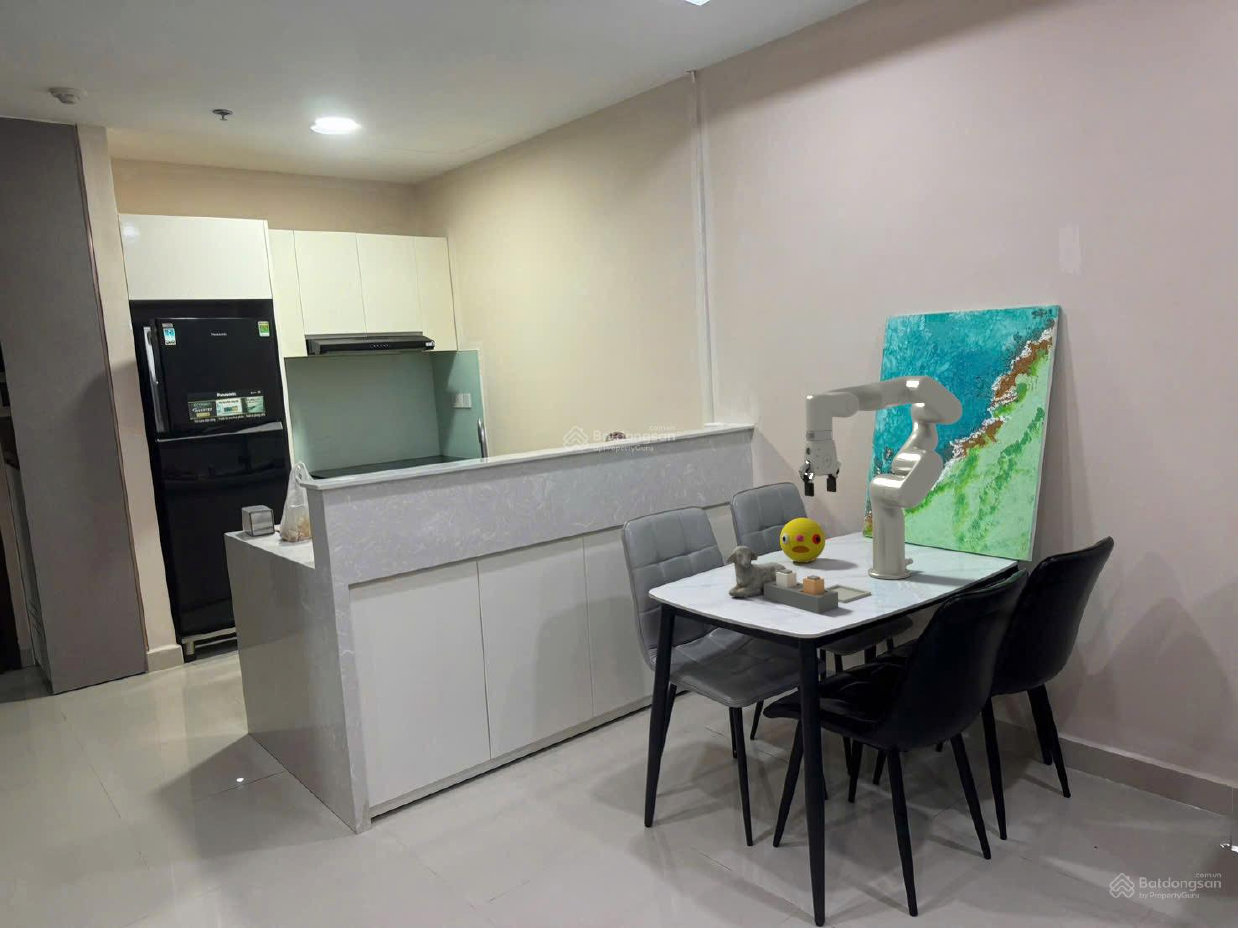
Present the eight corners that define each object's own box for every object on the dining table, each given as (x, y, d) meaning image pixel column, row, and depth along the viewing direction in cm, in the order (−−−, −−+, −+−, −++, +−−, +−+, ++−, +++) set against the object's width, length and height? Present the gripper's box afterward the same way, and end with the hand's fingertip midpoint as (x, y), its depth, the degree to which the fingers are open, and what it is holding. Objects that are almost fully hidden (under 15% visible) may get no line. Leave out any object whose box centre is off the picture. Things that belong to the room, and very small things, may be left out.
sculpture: (723, 596, 241) (721, 546, 239) (772, 582, 253) (770, 535, 252) (750, 604, 232) (748, 552, 230) (799, 589, 245) (798, 539, 243)
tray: (837, 588, 243) (837, 584, 243) (871, 596, 233) (871, 591, 233) (810, 596, 236) (810, 592, 236) (843, 605, 226) (843, 600, 226)
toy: (777, 567, 271) (775, 523, 269) (783, 556, 286) (782, 513, 285) (823, 568, 266) (822, 523, 264) (827, 557, 282) (826, 514, 280)
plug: (824, 603, 223) (824, 576, 223) (814, 606, 221) (814, 579, 220) (813, 600, 227) (813, 574, 226) (803, 603, 225) (802, 576, 224)
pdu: (783, 595, 239) (782, 564, 238) (838, 609, 222) (837, 577, 221) (764, 601, 234) (763, 569, 233) (818, 616, 218) (817, 582, 217)
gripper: (809, 439, 232) (810, 499, 234) (849, 434, 242) (850, 491, 244) (789, 438, 238) (790, 496, 240) (829, 433, 248) (830, 489, 250)
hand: (820, 493), depth 242 cm, fingers open, 9 cm apart
